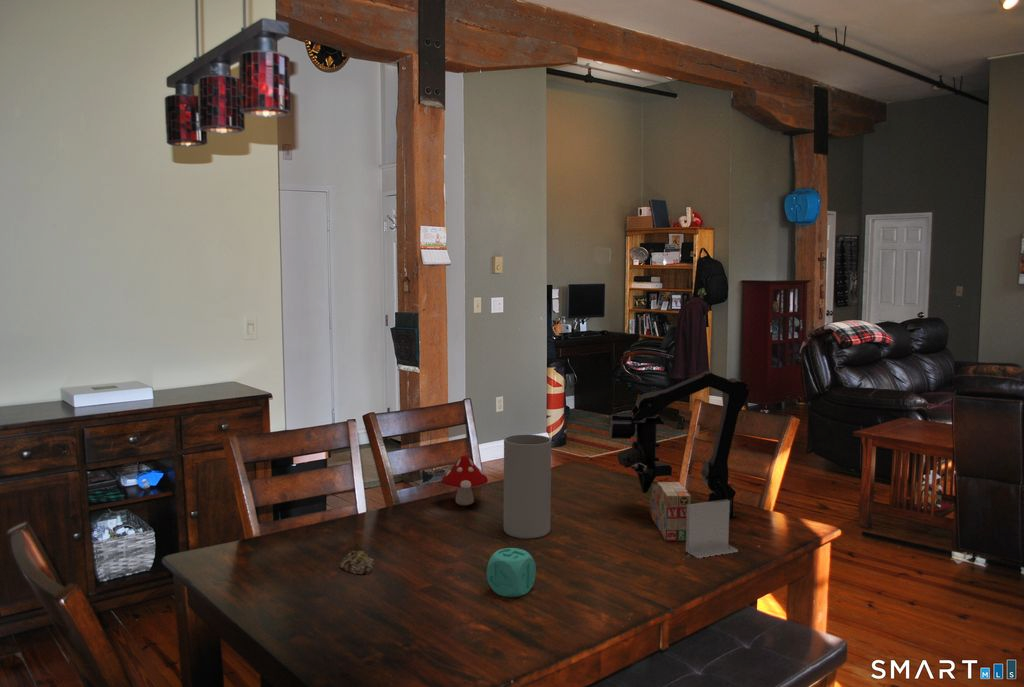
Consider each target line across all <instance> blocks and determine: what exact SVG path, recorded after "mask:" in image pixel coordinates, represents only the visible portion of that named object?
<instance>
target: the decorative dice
mask: <svg viewBox="0 0 1024 687" xmlns="http://www.w3.org/2000/svg"><path fill="white" fill-rule="evenodd" d="M536 574H537V565H536V562H535V560H534V558H533V557H532V555H531V554H530V553H529V552H528V551H526V550H525V549H521V548H517V547H506V548H501V549H497V550H495V552H493V554H492V555H491V556H490V559H489V560H488V564H487V566H486V580H487V583H488V585H489V587H490V588H491V590H492V591H493V592H494V593H495V594H497V595H499V596H501V597H507V598H517V597H522V596H525V595H527V594H528V593H529V592H530V591H531V589H532V588H533V585H534V583H535V579H536Z"/></svg>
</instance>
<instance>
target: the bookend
mask: <svg viewBox="0 0 1024 687" xmlns="http://www.w3.org/2000/svg"><path fill="white" fill-rule="evenodd" d="M729 507H730V501H729V500H727V499H726V500H718V501H711V502H708V501H705V502H704V501H703V502H697V503H691V504H688V505H687V523H686V541H685V552H686V553H687V552H688V553H687V554H689V555H691V556H692V555H693V556H692V557H694V556H695V557H694V558H696V559H698V558H699V559H703V557H705V558H710V557H709V556H711V557H716V556H715V555H717V556H722V555H721V554H723V555H728V554H734V552H735V553H738V552H739V550H738V549H737V548H736V547H733V546H732V545H731V544H729V538H730V537H729V534H730V532H729V531H730V530H729V529H730V518H729Z"/></svg>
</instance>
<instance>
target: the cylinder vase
mask: <svg viewBox="0 0 1024 687" xmlns="http://www.w3.org/2000/svg"><path fill="white" fill-rule="evenodd" d="M551 480H552V439H551V437H548V436H544V435H539V434H513V435H508V436H505V437H504V439H503V531H504V532H505V534H506V535H508V536H510V537H513V538H517V539H528V540H529V539H538V538H543V537H545V536H547V535H548V534H549V533H550V531H551V506H552V505H551V503H552V502H551V500H552V498H551V496H552V495H551V494H552V492H551V491H552V490H551V489H552V488H551V487H552V483H551Z"/></svg>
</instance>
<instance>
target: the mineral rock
mask: <svg viewBox="0 0 1024 687" xmlns="http://www.w3.org/2000/svg"><path fill="white" fill-rule="evenodd" d="M375 563H376V560H375V559H374V558H373V557H371V555H370V554H366V552H365V551H363V550H359V551H357V550H351V552H349V553H347V554H346V555H345V556H344V558H343V559H342V562H340V566H339V567H340V569H342V570H344V571H345V572H349V573H351V574H353V575H357V574H358V575H370V573H372V572H373V570H374V567H373V566H374V565H375Z"/></svg>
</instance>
